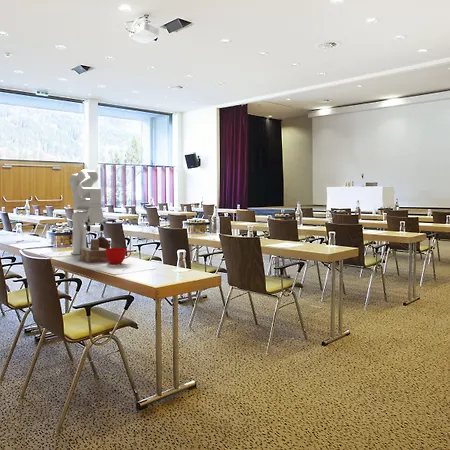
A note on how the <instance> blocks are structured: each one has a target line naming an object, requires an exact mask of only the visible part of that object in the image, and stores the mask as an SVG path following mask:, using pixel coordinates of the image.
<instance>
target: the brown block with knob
mask: <svg viewBox="0 0 450 450" xmlns="http://www.w3.org/2000/svg"><path fill="white" fill-rule="evenodd" d="M79 260H82V261H81V262H83V261H85V262H84V263H86V262H89V263H88V264H95V263H94V262H98V263H106V262H105V261H108V260H107V257H106V249H104V248H99V239H98V238H90V247H86V248H83V249H80V254H79Z"/></svg>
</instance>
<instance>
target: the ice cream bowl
mask: <svg viewBox="0 0 450 450" xmlns="http://www.w3.org/2000/svg"><path fill="white" fill-rule="evenodd" d="M97 239H99V248H104V249H108V248H111V243H110V242H109V240H108V239H107V238H105V237H104V236H99V237H97Z"/></svg>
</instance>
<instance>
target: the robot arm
mask: <svg viewBox="0 0 450 450" xmlns="http://www.w3.org/2000/svg"><path fill="white" fill-rule="evenodd" d="M98 179H99V174H98V172H97V171H96V170H92V169H91V170H89V169H82V170H79V171H78V172H77V173H72V174H70V176H69V178H68V182H69V183H68V185H69V187H70V190H71V193H72V206H73V209H74V210H76V211H75V212H73V213H72V215H71V219H72V220H71V221H72V248H71V249H72V251H70V254H71V255H80V249H83V248H87V232H89V233H90V232H91V225H94V224H99V231H100V232H104V227H105V225H106V223H107V221H108V219H107V218H106V217H104V211H103V208H102V207H103V205H104V204H102V190H101V188H98V187H93V186H94V184H96V183H97V181H98ZM84 225H85V226H86V227H85V226H84Z"/></svg>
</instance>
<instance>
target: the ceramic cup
mask: <svg viewBox="0 0 450 450" xmlns="http://www.w3.org/2000/svg"><path fill="white" fill-rule="evenodd" d="M128 252H129V254H128V256H126V255H127V254H126V253H128ZM130 256H132V251H131V250H126V248H122V247H121V248H120V247H110V248H108V249H106V257H107V260H108V262H107V263H109V264H111V265H118V264H120V265H121V264H122V263H123V262H124V261H125V259H128V258H130Z"/></svg>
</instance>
